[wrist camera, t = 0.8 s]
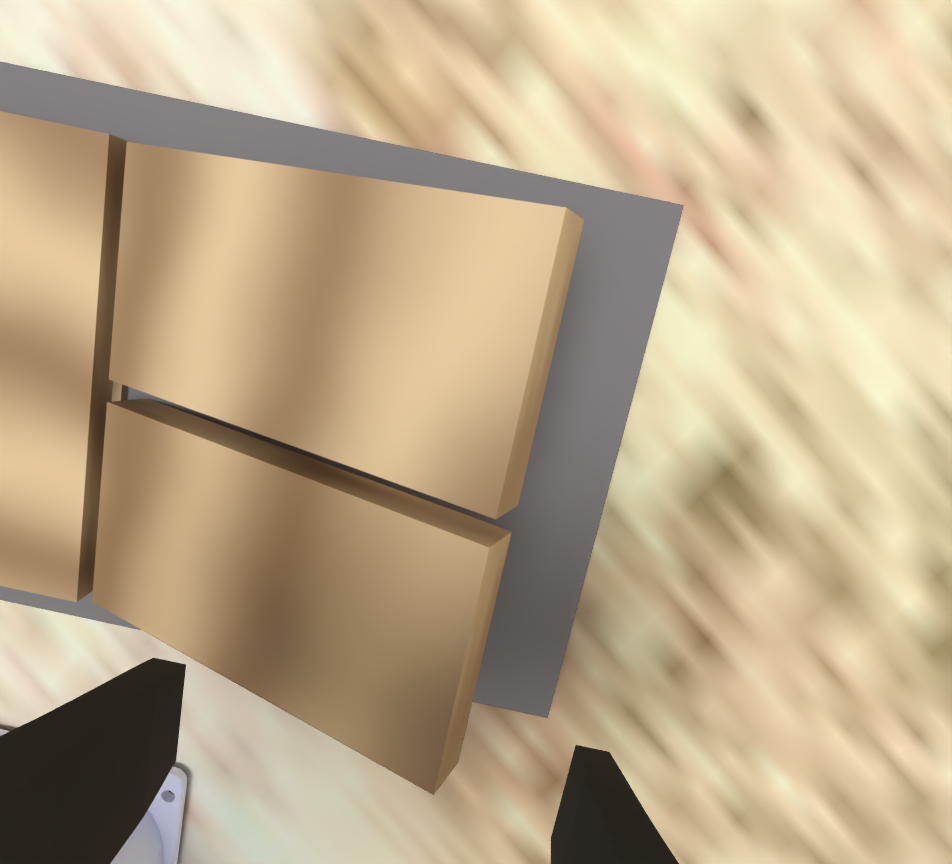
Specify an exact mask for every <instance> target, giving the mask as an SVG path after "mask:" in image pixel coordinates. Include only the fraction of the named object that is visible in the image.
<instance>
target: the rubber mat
mask: <svg viewBox="0 0 952 864" xmlns="http://www.w3.org/2000/svg"><path fill="white" fill-rule="evenodd" d="M0 111H3V112H7V113H12V114H17V115H22V116H26V117H31V118H36V119H41V120H45V121H50V122H55V123H60V124H64V125H69V126H74V127H79V128H83V129H88V130H93V131H98V132H102V133H107V134H111V135H113V136H116V137H118V138H121V139H123V140H126V141H128V142H132V143H139V144H145V145H152V146H159V147H166V148H172V149H179V150H186V151H192V152H199V153H206V154H212V155H219V156H226V157H232V158H239V159H246V160H252V161H259V162H266V163H272V164H279V165H286V166H292V167H299V168H306V169H312V170H319V171H326V172H332V173H339V174H346V175H353V176H359V177H366V178H373V179H379V180H386V181H393V182H399V183H406V184H413V185H419V186H426V187H433V188H439V189H446V190H453V191H459V192H466V193H473V194H479V195H486V196H493V197H499V198H506V199H513V200H519V201H526V202H533V203H539V204H546V205H553V206H560V207H566V208H568V209H569V210H570V211H572V212H573V213H575V214H576V215H578V216H579V217H580V218H582V219H583V220H584V224H583V228H582V232H581V236H580V241H579V245H578V249H577V254H576V258H575V262H574V267H573V271H572V275H571V279H570V284H569V288H568V292H567V297H566V301H565V305H564V309H563V314H562V318H561V322H560V327H559V331H558V335H557V340H556V344H555V348H554V352H553V357H552V361H551V365H550V370H549V374H548V378H547V382H546V387H545V391H544V395H543V400H542V404H541V408H540V413H539V417H538V421H537V425H536V430H535V434H534V438H533V443H532V447H531V451H530V455H529V460H528V464H527V468H526V473H525V477H524V481H523V486H522V490H521V494H520V498H519V503H518V506H516V507H514V508H513V509H511V510H510V511H508V512H507V513H505V514H503V515H502V516H500V517H499V518H497V519H494V518H491V517H488V516H485V515H483V514H480V513H477V512H474V511H471V510H469V509H466V508H463V507H460V506H458V505H455V504H452V503H449V502H447V501H444V500H441V499H438V498H435V497H433V496H430V495H427V494H424V493H422V492H419V491H416V490H413V489H411V488H408V487H405V486H402V485H399V484H397V483H394V482H391V481H388V480H386V479H383V478H380V477H377V476H375V475H372V474H369V473H366V472H363V471H361V470H358V469H355V468H352V467H350V466H347V465H344V464H341V463H339V462H336V461H333V460H330V459H328V458H325V457H322V456H319V455H316V454H314V453H311V452H308V451H305V450H303V449H300V448H297V447H294V446H292V445H289V444H286V443H283V442H280V441H278V440H275V439H272V438H269V437H267V436H264V435H261V434H258V433H256V432H253V431H250V430H247V429H244V428H242V427H239V426H236V425H233V424H231V423H228V422H225V421H222V420H220V419H217V418H214V417H211V416H208V415H206V414H203V413H200V412H197V411H195V410H192V409H189V408H186V407H184V406H181V405H178V404H175V403H172V402H170V401H167V400H164V399H161V398H159V397H156V396H153V395H150V394H148V393H145V392H142V391H139V390H137V389H134V388H131V387H128V396H127V400H136V399H150V400H153V401H156V402H159V403H161V404H164V405H167V406H170V407H172V408H175V409H178V410H181V411H183V412H186V413H189V414H191V415H194V416H197V417H200V418H202V419H205V420H208V421H211V422H213V423H216V424H219V425H222V426H224V427H227V428H230V429H233V430H235V431H238V432H241V433H243V434H246V435H249V436H252V437H254V438H257V439H260V440H263V441H265V442H268V443H271V444H274V445H276V446H279V447H282V448H285V449H287V450H290V451H293V452H295V453H298V454H301V455H304V456H306V457H309V458H312V459H315V460H317V461H320V462H323V463H326V464H328V465H331V466H334V467H337V468H339V469H342V470H345V471H347V472H350V473H353V474H356V475H358V476H361V477H364V478H367V479H369V480H372V481H375V482H378V483H380V484H383V485H386V486H388V487H391V488H394V489H397V490H399V491H402V492H405V493H408V494H410V495H413V496H416V497H419V498H421V499H424V500H427V501H430V502H432V503H435V504H438V505H440V506H443V507H446V508H449V509H451V510H454V511H457V512H460V513H462V514H465V515H468V516H471V517H473V518H476V519H479V520H482V521H484V522H487V523H490V524H492V525H495V526H498V527H501V528H503V529H506V530H509V531H512V533H511V537H510V541H509V546H508V550H507V554H506V559H505V563H504V567H503V571H502V576H501V580H500V584H499V589H498V593H497V597H496V601H495V606H494V610H493V614H492V619H491V623H490V627H489V632H488V636H487V640H486V644H485V649H484V653H483V657H482V662H481V666H480V670H479V674H478V679H477V683H476V687H475V692H474V696H473V700H472V702H476V703H481V704H486V705H490V706H495V707H500V708H504V709H509V710H513V711H518V712H523V713H527V714H532V715H537V716H541V717H546V718H548V715H549V711H550V707H551V703H552V700H553V696H554V692H555V688H556V684H557V681H558V677H559V673H560V669H561V666H562V662H563V658H564V654H565V651H566V647H567V643H568V639H569V635H570V632H571V628H572V624H573V620H574V617H575V613H576V609H577V605H578V602H579V598H580V594H581V590H582V586H583V583H584V579H585V575H586V571H587V568H588V564H589V560H590V556H591V553H592V549H593V545H594V541H595V537H596V534H597V530H598V526H599V522H600V519H601V515H602V511H603V507H604V504H605V500H606V496H607V492H608V488H609V485H610V481H611V477H612V473H613V470H614V466H615V462H616V458H617V455H618V451H619V447H620V443H621V439H622V436H623V432H624V428H625V424H626V421H627V417H628V413H629V409H630V406H631V402H632V398H633V394H634V390H635V387H636V383H637V379H638V375H639V372H640V368H641V364H642V360H643V357H644V353H645V349H646V345H647V341H648V338H649V334H650V330H651V326H652V323H653V319H654V315H655V311H656V308H657V304H658V300H659V296H660V292H661V289H662V285H663V281H664V277H665V274H666V270H667V266H668V262H669V259H670V255H671V251H672V247H673V243H674V240H675V236H676V232H677V228H678V225H679V221H680V217H681V213H682V210H683V206H684V205H680V204H675V203H671V202H666V201H661V200H656V199H652V198H647V197H642V196H637V195H633V194H628V193H623V192H618V191H614V190H609V189H604V188H599V187H594V186H590V185H585V184H580V183H575V182H571V181H566V180H561V179H556V178H552V177H547V176H542V175H537V174H533V173H528V172H523V171H518V170H514V169H509V168H504V167H499V166H494V165H490V164H485V163H480V162H475V161H471V160H466V159H461V158H456V157H452V156H447V155H442V154H437V153H433V152H428V151H423V150H418V149H413V148H409V147H404V146H399V145H394V144H390V143H385V142H380V141H375V140H371V139H366V138H361V137H356V136H352V135H347V134H342V133H337V132H332V131H328V130H323V129H318V128H313V127H309V126H304V125H299V124H294V123H290V122H285V121H280V120H275V119H271V118H266V117H261V116H256V115H252V114H247V113H242V112H237V111H232V110H228V109H223V108H218V107H213V106H209V105H204V104H199V103H194V102H190V101H185V100H180V99H175V98H171V97H166V96H161V95H156V94H151V93H147V92H142V91H137V90H132V89H128V88H123V87H118V86H113V85H109V84H104V83H99V82H94V81H90V80H85V79H80V78H75V77H70V76H66V75H61V74H56V73H51V72H47V71H42V70H37V69H32V68H28V67H23V66H18V65H13V64H9V63H4V62H0ZM92 595H93V591H92V592H90V593H89V594H88V595H86V596H85V597H83V598H82V599H81V600H79V601H78V602H73V601H68V600H64V599H59V598H54V597H50V596H45V595H41V594H36V593H31V592H27V591H22V590H17V589H13V588H8V587H4V586H0V600H4V601H9V602H13V603H18V604H23V605H27V606H32V607H37V608H41V609H46V610H51V611H55V612H60V613H64V614H69V615H74V616H78V617H83V618H88V619H92V620H97V621H101V622H106V623H111V624H115V625H120V626H125V627H129V628H134V629H138V630H141V629H139V628H137V627H136V626H134V625H132V624H130V623H129V622H127V621H125V620H123V619H121V618H120V617H118V616H116V615H114V614H113V613H111V612H109V611H107V610H106V609H104V608H102V607H100V606H98V605H97V604H95V603H93V602H92Z"/></svg>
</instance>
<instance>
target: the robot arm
mask: <svg viewBox="0 0 952 864" xmlns="http://www.w3.org/2000/svg"><path fill="white" fill-rule="evenodd" d="M185 668H186V665H185V664H180V663H176V662H171V661H166V660H161V659H156V658H152V659H150V660H148V661H146V662H144V663H142V664H140V665H138V666H136V667H134V668H132V669H130V670H128V671H126V672H124V673H123V674H121V675H119V676H117V677H115V678H113V679H111V680H110V681H108V682H106V683H104V684H102V685H100V686H98V687H96V688H95V689H93V690H91V691H89V692H87V693H85V694H83V695H81V696H79V697H78V698H76V699H74V700H72V701H70V702H68V703H66V704H64V705H62V706H60V707H58V708H56V709H54V710H53V711H51V712H49V713H47V714H45V715H43V716H41V717H39V718H37V719H35V720H33V721H31V722H29V723H27V724H24V725H22V726H20V727H18V728H16V729H14V730H12V731H7V730H2V729H0V864H177V861H178V853H179V845H180V837H181V828H182V820H183V812H184V804H185V795H186V787H187V776H186V774H185V773H184V772H183V771H182V770H181V769H179V768H177V767H173V765H174V763H175V761H176V755H177V745H178V736H179V726H180V717H181V707H182V697H183V688H184V678H185ZM168 790H169V791H171V792H173V793H174V794H172V793H170V792H169V791H168ZM551 864H679V863H678V862H677V860H676V859H675V857H674V856H673V854H672V853H671V851H670V849H669V848H668V846H667V845H666V843H665V842H664V840H663V839H662V837H661V836H660V834H659V833H658V831H657V830H656V828H655V826H654V825H653V823H652V822H651V820H650V818H649V817H648V815H647V814H646V812H645V810H644V809H643V807H642V805H641V804H640V802H639V800H638V799H637V797H636V795H635V794H634V792H633V790H632V789H631V787H630V785H629V784H628V782H627V780H626V779H625V777H624V775H623V774H622V772H621V770H620V769H619V767H618V765H617V764H616V762H615V761H614V759H613V757H612V756H611V754H610V752H607V751H602V750H597V749H593V748H588V747H583V746H578V745H576V746H575V750H574V754H573V758H572V761H571V765H570V769H569V773H568V776H567V780H566V784H565V788H564V791H563V795H562V799H561V803H560V806H559V810H558V814H557V818H556V821H555V825H554V829H553V833H552V836H551Z"/></svg>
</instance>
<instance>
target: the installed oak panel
mask: <svg viewBox="0 0 952 864" xmlns="http://www.w3.org/2000/svg"><path fill="white" fill-rule="evenodd" d="M127 142H128V141H126V140H123V139H121V138H118V137H116V136H113V135H111V134H107V133H102V132H98V131H93V130H88V129H83V128H79V127H74V126H69V125H64V124H60V123H55V122H50V121H45V120H41V119H36V118H31V117H26V116H22V115H17V114H12V113H7V112H3V111H0V586H4V587H8V588H13V589H17V590H22V591H27V592H31V593H36V594H41V595H45V596H50V597H54V598H59V599H64V600H68V601H73V602H78V601H79V600H81V599H82V598H83V597H85V596H86V595H88V594H89V593H90V592H92V591H93V582H94V568H95V555H96V542H97V529H98V516H99V502H100V489H101V476H102V463H103V449H104V436H105V423H106V410H107V402H111V401H124V400H127V396H128V386H125V385H123V384H120V383H117V382H114V381H112V380H109V370H110V357H111V343H112V330H113V317H114V304H115V290H116V277H117V264H118V251H119V238H120V224H121V211H122V198H123V185H124V171H125V158H126V145H127Z"/></svg>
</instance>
